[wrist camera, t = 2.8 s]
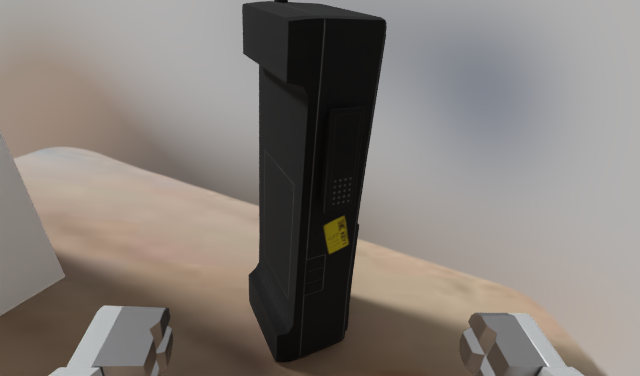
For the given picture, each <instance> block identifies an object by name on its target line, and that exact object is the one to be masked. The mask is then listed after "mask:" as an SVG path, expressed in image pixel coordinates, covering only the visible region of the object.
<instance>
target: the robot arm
mask: <svg viewBox="0 0 640 376" xmlns="http://www.w3.org/2000/svg"><path fill="white" fill-rule="evenodd" d="M169 320H170V313H169V308H158V307H135V306H103V307H102V308H100V309H99V310H98V311H97V313H96V315H95V317H94V319H93V320H92V322H91V324H90V326H89V327H88V329H87V331H86V333H85V335H84V336H83V338H82V340H81V342H80V344H79V345H78V347H77V349H76V351H75V353H74V354H73V356H72V358H71V360H70V362H69V363H68V365H67V367H60V368H58V369H57V370H55V371H54V372H53V373H51V374H50V375H49V376H160V374H161V373H162V372H163V371H164V370H165V369H167V367H168V363H169V360H170V356H171V350H172V342H173V334H172V329H171V328H170V327H169V326H168V323H169ZM468 322H469V324H470V326H471V327H470V328H469V329H467V330H466V331H464V332H463V334H462V336H461V339H460V354H461V358H462V361H463V363H464V365H465V367H466V368H467V369H468V370H469V371H470V372H471V373H472V374H473V375H474V376H584V375H583V374H582V373H580V372H579V371H577V370H576V369H575V368H573V367H567V366H566V364H565V363H564V362H563V360H562V359H561V357H560V356H559V355H558V353H557V352H556V350H555V349H554V347H553V346H552V345H551V343H550V342H549V340H548V339H547V338H546V336H545V335H544V333H543V332H542V331H541V329H540V328H539V326H538V325H537V323H536V322H535V321H534V319H533V318H532V317H531V316H530V315H528V314H523V313H474V314H473V315H471V317H470V319H469V321H468Z"/></svg>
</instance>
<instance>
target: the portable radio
mask: <svg viewBox="0 0 640 376" xmlns="http://www.w3.org/2000/svg"><path fill="white" fill-rule="evenodd" d="M242 13H243V54H245V55H246V56H248V57H249V58H250V59H252V60H253V61H255V62H257V63H258V64H259V166H260V167H259V172H260V173H259V181H260V183H259V200H260V201H259V217H260V242H259V263H258V265H257V267H256V268H255V269H254V270H253V271H252V272H251V273H250V274H249V301H250V304H251V307H252V309H253V312H254V314H255V316H256V318H257V321H258V323H259V325H260V328H261V330H262V332H263V335H264V337H265V339H266V341H267V344H268V346H269V348H270V351H271V353H272V355H273V358H274V360H275V361H290V360H294V359H297V358H301V357H303V356H306V355H308V354H311V353H313V352H316V351H318V350H320V349H323V348H325V347H328V346H330V345H333V344H335V343H337V342H340V341H342V340H343V339H344V335H345V331H346V330H347V327H348V316H349V303H350V293H351V284H352V275H353V268H354V260H355V253H356V245H357V238H358V230H359V224H358V223H357V222H358V215H359V208H360V201H361V195H362V188H363V181H364V175H365V167H366V161H367V154H368V148H369V142H370V135H371V128H372V122H373V116H374V109H375V103H376V96H377V90H378V83H379V77H380V71H381V64H382V58H383V51H384V44H385V37H386V21H385V20H384V19H383V18H381V17H376V16H372V15H368V14H363V13H359V12H354V11H350V10H345V9H341V8H336V7H332V6H327V5H323V4H313V3H293V2H288V0H274V2H273V1H267V2H254V3H246V4H243V9H242Z"/></svg>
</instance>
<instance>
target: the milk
mask: <svg viewBox="0 0 640 376" xmlns="http://www.w3.org/2000/svg"><path fill="white" fill-rule="evenodd" d="M64 277H65V274H64V272H63V270H62V268H61V265H60V263H59V261H58V259H57V256H56V254H55V252H54V250H53V247H52V245H51V243H50V241H49V238H48V236H47V234H46V232H45V229H44V227H43V225H42V223H41V220H40V218H39V216H38V214H37V211H36V209H35V207H34V205H33V203H32V200H31V198H30V196H29V194H28V191H27V189H26V187H25V185H24V182H23V180H22V178H21V176H20V173H19V171H18V169H17V167H16V164H15V162H14V160H13V158H12V156H11V153H10V151H9V149H8V147H7V144H6V142H5V140H4V137H3V135H2V133H1V131H0V316H1V315H3V314H4V313H6V312H8V311H9V310H11V309H13V308H14V307H16V306H18V305H19V304H21V303H23V302H24V301H26V300H28V299H29V298H31V297H33V296H34V295H36V294H38V293H39V292H41V291H43V290H44V289H46V288H48V287H49V286H51V285H53V284H54V283H56V282H58V281H59V280H61V279H63V278H64Z"/></svg>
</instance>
